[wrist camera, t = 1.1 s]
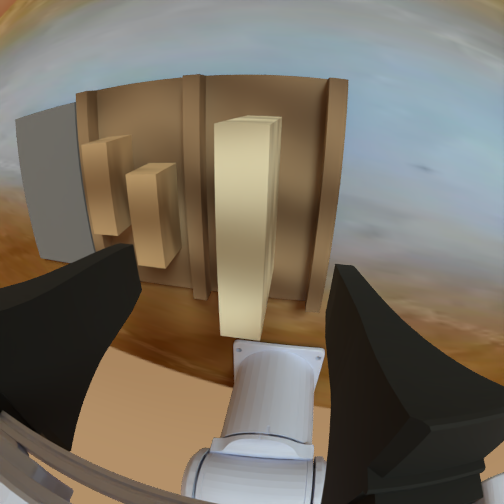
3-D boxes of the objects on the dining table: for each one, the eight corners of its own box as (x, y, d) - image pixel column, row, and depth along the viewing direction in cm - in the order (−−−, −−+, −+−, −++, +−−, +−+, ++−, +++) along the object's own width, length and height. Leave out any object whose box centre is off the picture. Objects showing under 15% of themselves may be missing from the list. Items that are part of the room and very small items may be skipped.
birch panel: (273, 268, 21) (259, 340, 15) (244, 265, 21) (220, 335, 15) (281, 117, 16) (270, 124, 10) (247, 115, 16) (214, 123, 10)
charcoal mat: (101, 264, 24) (98, 267, 24) (43, 255, 25) (40, 257, 25) (78, 101, 17) (74, 102, 17) (19, 118, 18) (15, 119, 18)
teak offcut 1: (139, 218, 20) (117, 235, 18) (116, 216, 21) (94, 233, 18) (131, 134, 18) (106, 142, 15) (107, 137, 18) (81, 145, 15)
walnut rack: (318, 295, 22) (319, 312, 20) (115, 271, 24) (103, 284, 22) (343, 82, 15) (348, 79, 13) (92, 92, 17) (75, 93, 15)
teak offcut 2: (182, 246, 21) (165, 268, 18) (156, 244, 21) (138, 265, 19) (176, 162, 18) (155, 174, 15) (148, 163, 18) (125, 174, 16)
